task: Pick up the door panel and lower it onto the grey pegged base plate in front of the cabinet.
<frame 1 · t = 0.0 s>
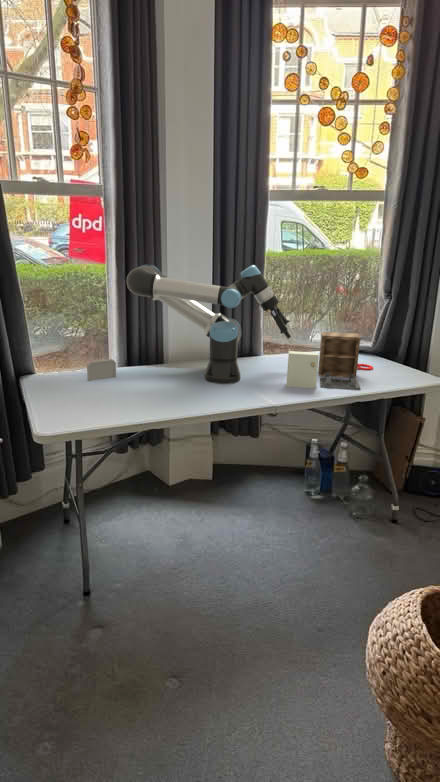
hand: (293, 340, 246), 15 cm above the table, tool tilted 35°, fingers open, 13 cm apart
door panel: (301, 386, 235), on the table
cabinet: (336, 374, 253), on the table
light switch: (102, 379, 236), on the table
tow hook: (362, 368, 265), on the table
grey pegged base plate: (339, 384, 238), on the table
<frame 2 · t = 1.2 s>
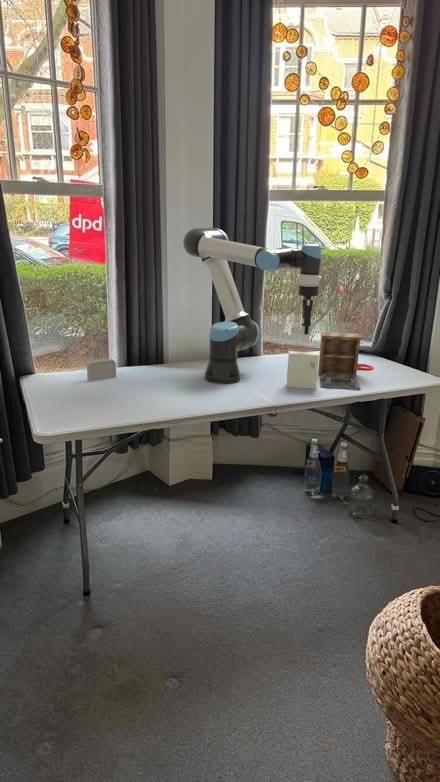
hand: (305, 338, 229), 20 cm above the table, tool pointing down, fingers open, 13 cm apart
nothing on the table moved.
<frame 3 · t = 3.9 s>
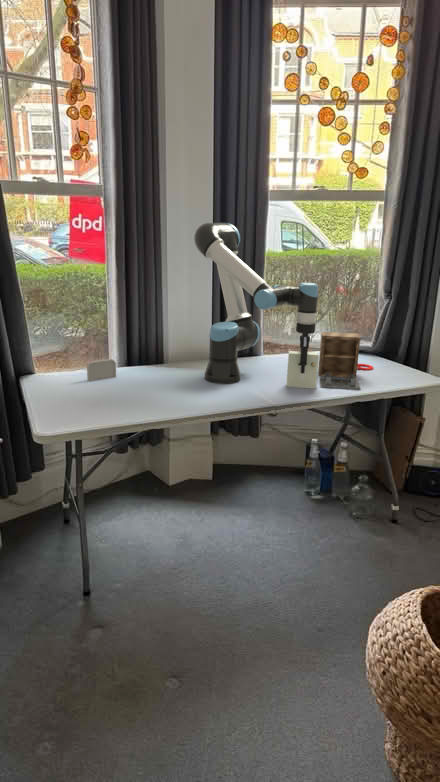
hand: (301, 378, 234), 3 cm above the table, tool pointing down, fingers closed on door panel, 4 cm apart
door panel: (301, 386, 235), on the table, touching gripper
everything else where it was.
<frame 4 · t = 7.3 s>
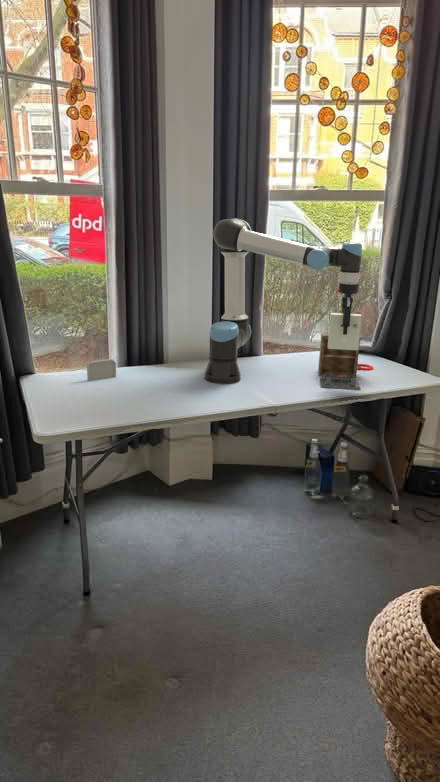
hand: (343, 340, 232), 19 cm above the table, tool pointing down, fingers closed on door panel, 4 cm apart
door panel: (342, 348, 233), point 16 cm above the table, touching gripper
everything else where it was.
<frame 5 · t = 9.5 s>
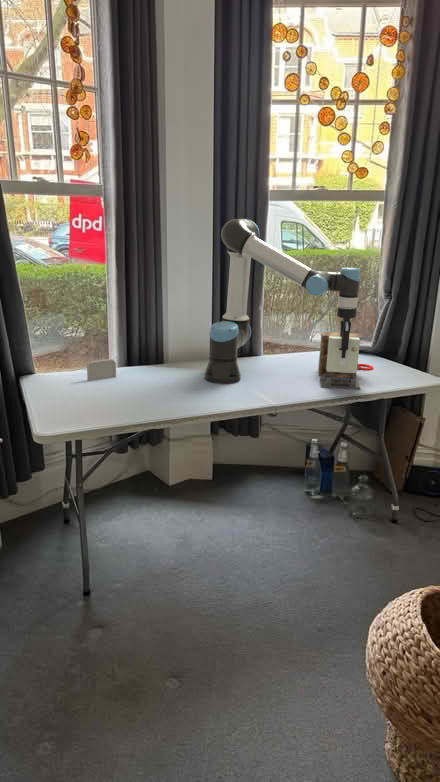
hand: (341, 363, 235), 9 cm above the table, tool pointing down, fingers closed on door panel, 4 cm apart
door panel: (341, 371, 236), point 6 cm above the table, touching gripper
everything else where it was.
when the fingers open (6 cm above the table, at t = 11.1 s): door panel drops 1 cm, resting on grey pegged base plate.
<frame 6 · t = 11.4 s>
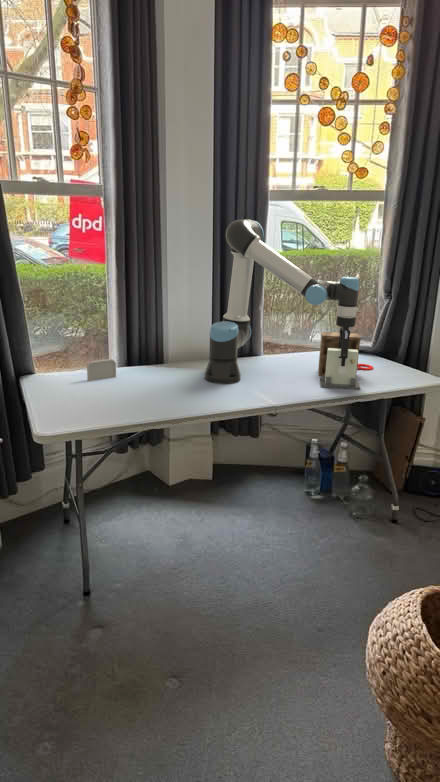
hand: (340, 370, 236), 6 cm above the table, tool pointing down, fingers open, 8 cm apart
door panel: (339, 382, 238), point 1 cm above the table, touching grey pegged base plate
everything else where it was.
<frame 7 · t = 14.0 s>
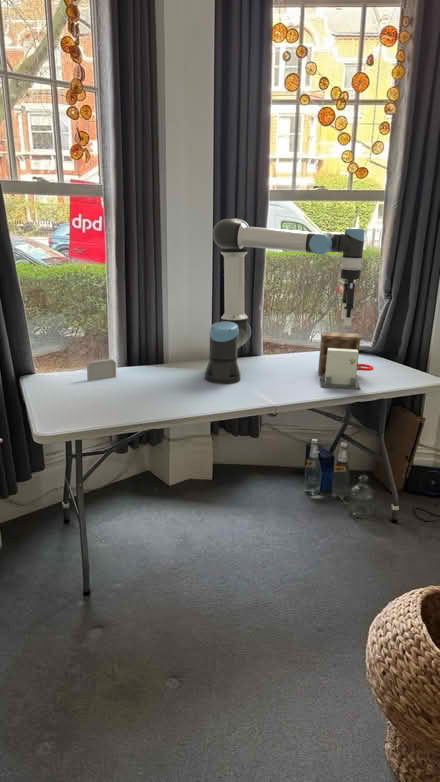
hand: (345, 322, 230), 26 cm above the table, tool pointing down, fingers open, 13 cm apart
nothing on the table moved.
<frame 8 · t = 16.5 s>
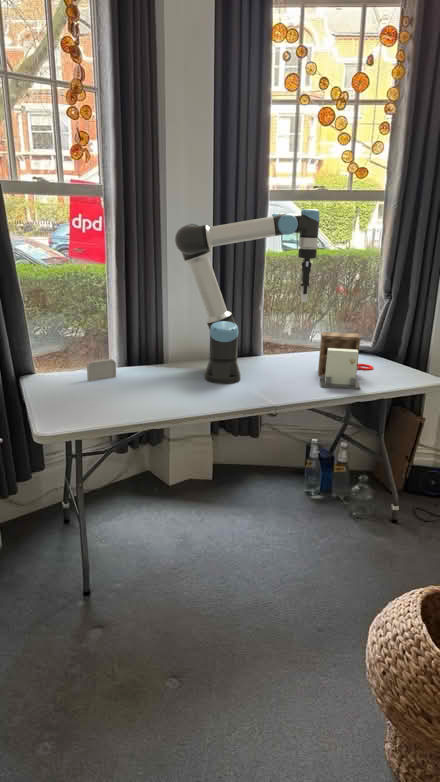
hand: (303, 299, 243), 33 cm above the table, tool pointing down, fingers open, 13 cm apart
nothing on the table moved.
at the end: door panel 0.0 cm off-centre on the grey pegged base plate, point 1.0 cm above the grey pegged base plate's base; door panel tilted 0°; the gripper is holding nothing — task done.
